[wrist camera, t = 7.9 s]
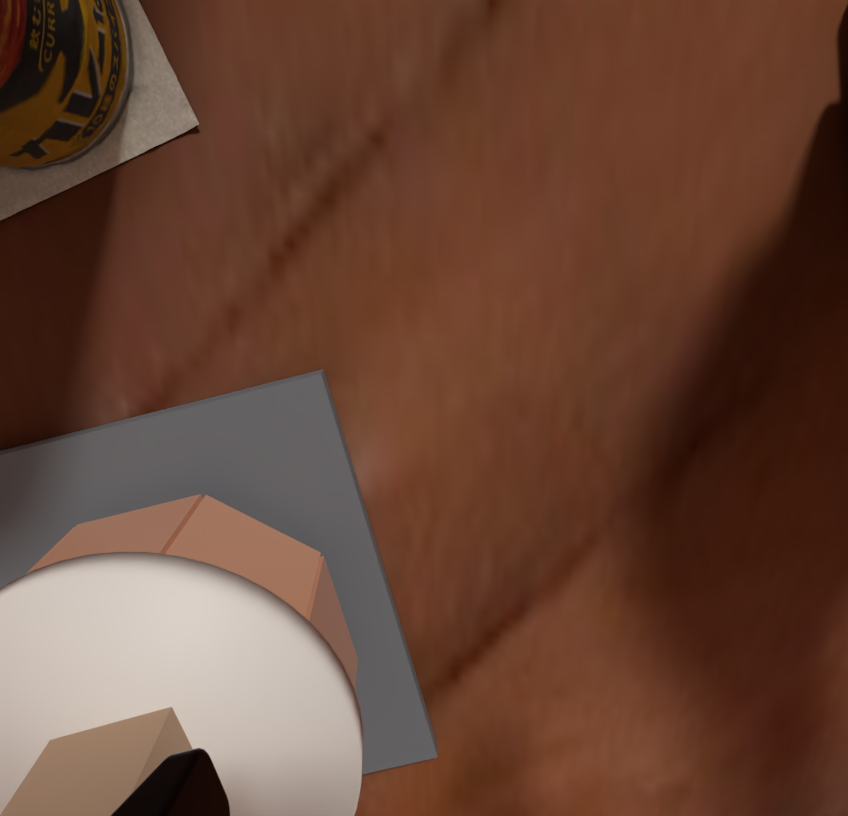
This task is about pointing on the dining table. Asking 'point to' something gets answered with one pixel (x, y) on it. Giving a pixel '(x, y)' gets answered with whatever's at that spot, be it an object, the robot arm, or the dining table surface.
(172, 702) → the lid
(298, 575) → the bowl
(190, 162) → the dining table surface
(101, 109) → the condiment
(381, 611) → the mat
